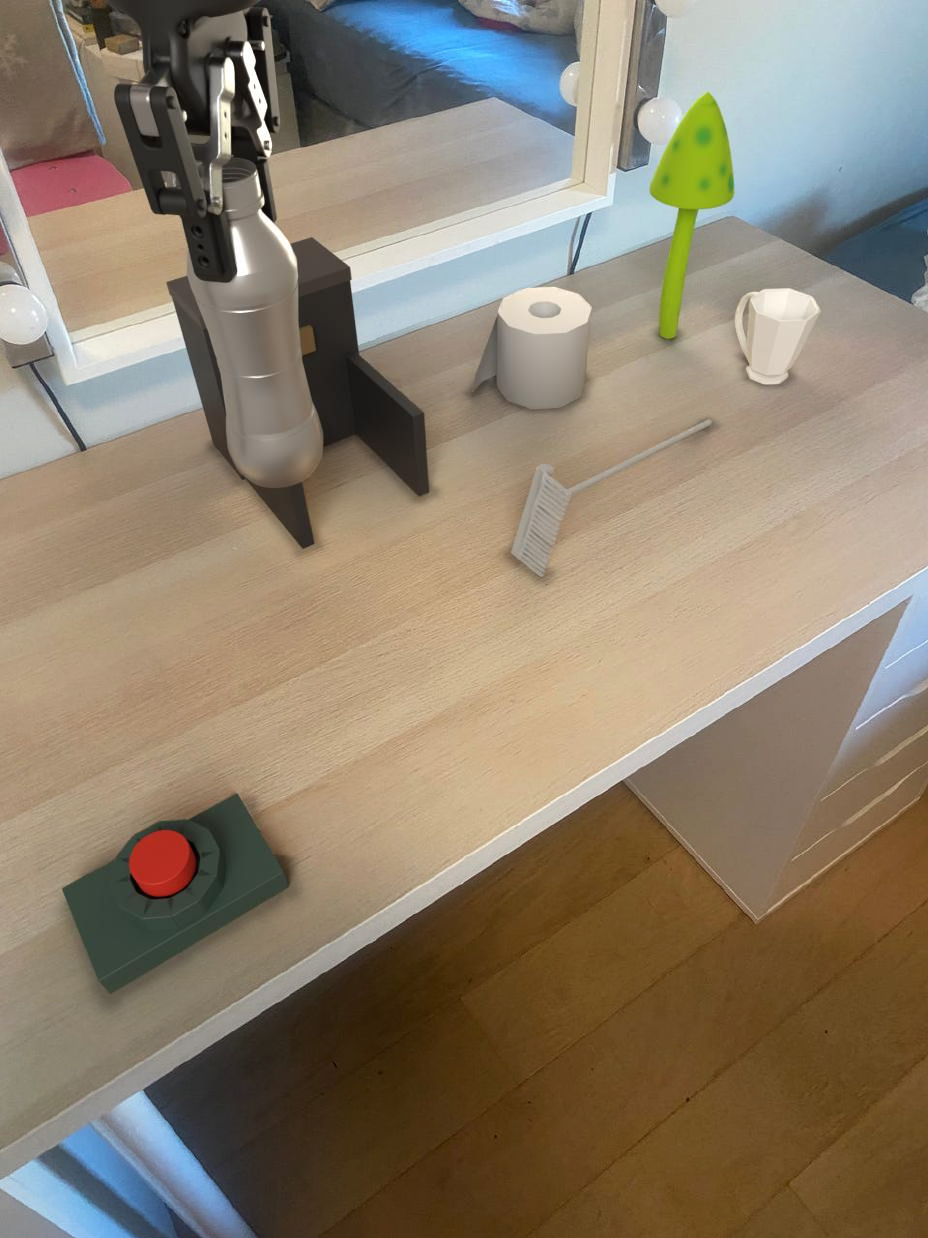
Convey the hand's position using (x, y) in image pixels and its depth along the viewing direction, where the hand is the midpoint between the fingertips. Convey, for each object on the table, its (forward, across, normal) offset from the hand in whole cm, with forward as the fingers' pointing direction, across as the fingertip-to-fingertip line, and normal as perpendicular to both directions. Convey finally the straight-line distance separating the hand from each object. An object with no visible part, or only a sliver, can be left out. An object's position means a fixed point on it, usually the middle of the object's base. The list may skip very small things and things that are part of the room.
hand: (238, 250), depth 51 cm
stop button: (+28, +25, -1) cm, 37 cm away
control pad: (+31, +25, -1) cm, 40 cm away
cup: (+30, -44, +37) cm, 65 cm away
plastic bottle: (+16, 0, 0) cm, 16 cm away
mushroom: (+30, -49, +27) cm, 64 cm away
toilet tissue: (+31, -36, +13) cm, 49 cm away
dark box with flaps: (+31, -19, -5) cm, 37 cm away
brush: (+31, -20, +24) cm, 44 cm away
